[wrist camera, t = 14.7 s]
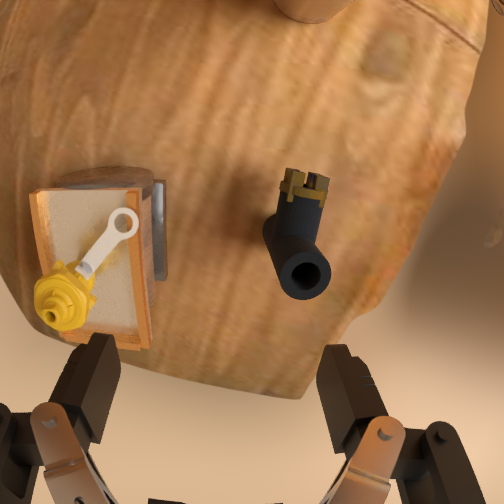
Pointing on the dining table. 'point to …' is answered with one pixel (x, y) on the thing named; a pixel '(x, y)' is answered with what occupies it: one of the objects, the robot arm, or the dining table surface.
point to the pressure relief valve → (77, 280)
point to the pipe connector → (298, 235)
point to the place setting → (498, 7)
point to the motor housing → (123, 254)
